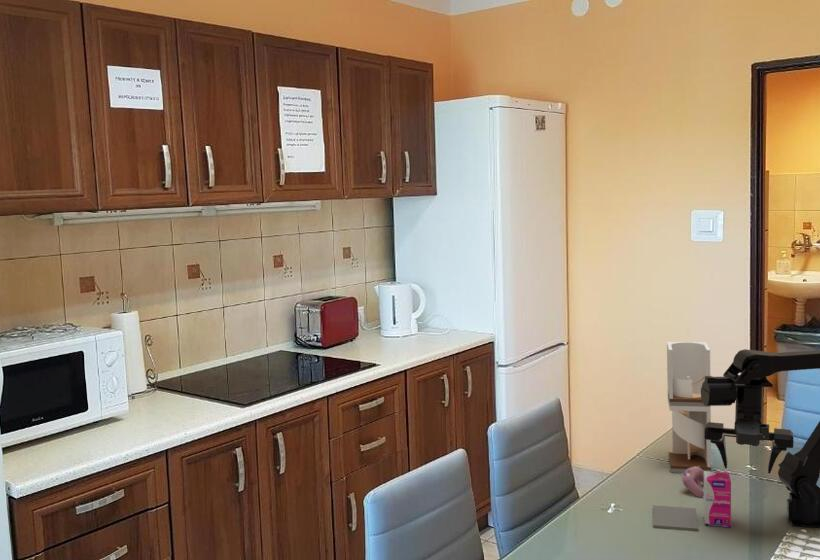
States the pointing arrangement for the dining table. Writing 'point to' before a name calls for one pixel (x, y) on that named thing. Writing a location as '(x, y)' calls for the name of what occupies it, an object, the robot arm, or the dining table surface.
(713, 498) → the supplement box
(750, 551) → the dining table surface
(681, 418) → the display case
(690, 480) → the video game controller
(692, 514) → the rubber mat
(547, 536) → the dining table surface
